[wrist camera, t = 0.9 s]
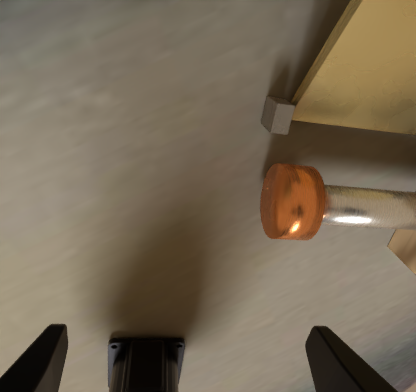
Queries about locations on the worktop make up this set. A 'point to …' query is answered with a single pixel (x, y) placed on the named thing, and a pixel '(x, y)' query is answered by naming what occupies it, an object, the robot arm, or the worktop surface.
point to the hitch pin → (327, 204)
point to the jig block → (405, 247)
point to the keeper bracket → (277, 115)
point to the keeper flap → (365, 70)
